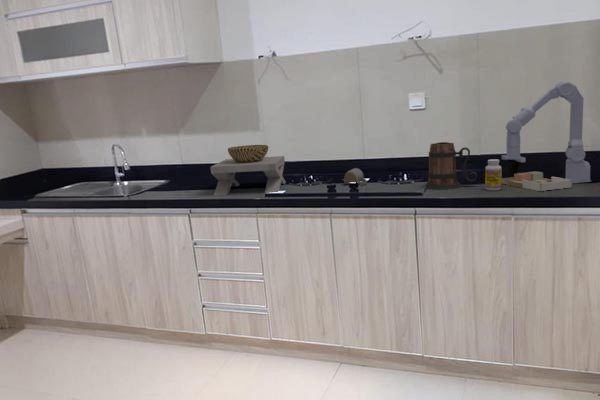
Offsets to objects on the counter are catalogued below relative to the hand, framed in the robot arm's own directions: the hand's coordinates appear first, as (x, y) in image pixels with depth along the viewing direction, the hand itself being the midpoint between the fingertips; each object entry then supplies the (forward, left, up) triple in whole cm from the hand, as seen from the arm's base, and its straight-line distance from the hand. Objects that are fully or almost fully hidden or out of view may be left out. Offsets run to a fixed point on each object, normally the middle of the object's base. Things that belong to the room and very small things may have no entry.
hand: (513, 176), depth 246 cm
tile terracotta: (0, +7, -1) cm, 7 cm away
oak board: (-3, +5, -3) cm, 6 cm away
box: (-3, +19, -3) cm, 19 cm away
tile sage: (-6, +7, -1) cm, 9 cm away
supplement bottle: (+16, +9, -3) cm, 18 cm away
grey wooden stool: (+110, -62, -3) cm, 127 cm away
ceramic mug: (+60, -42, -3) cm, 73 cm away
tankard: (+27, -8, -3) cm, 28 cm away
